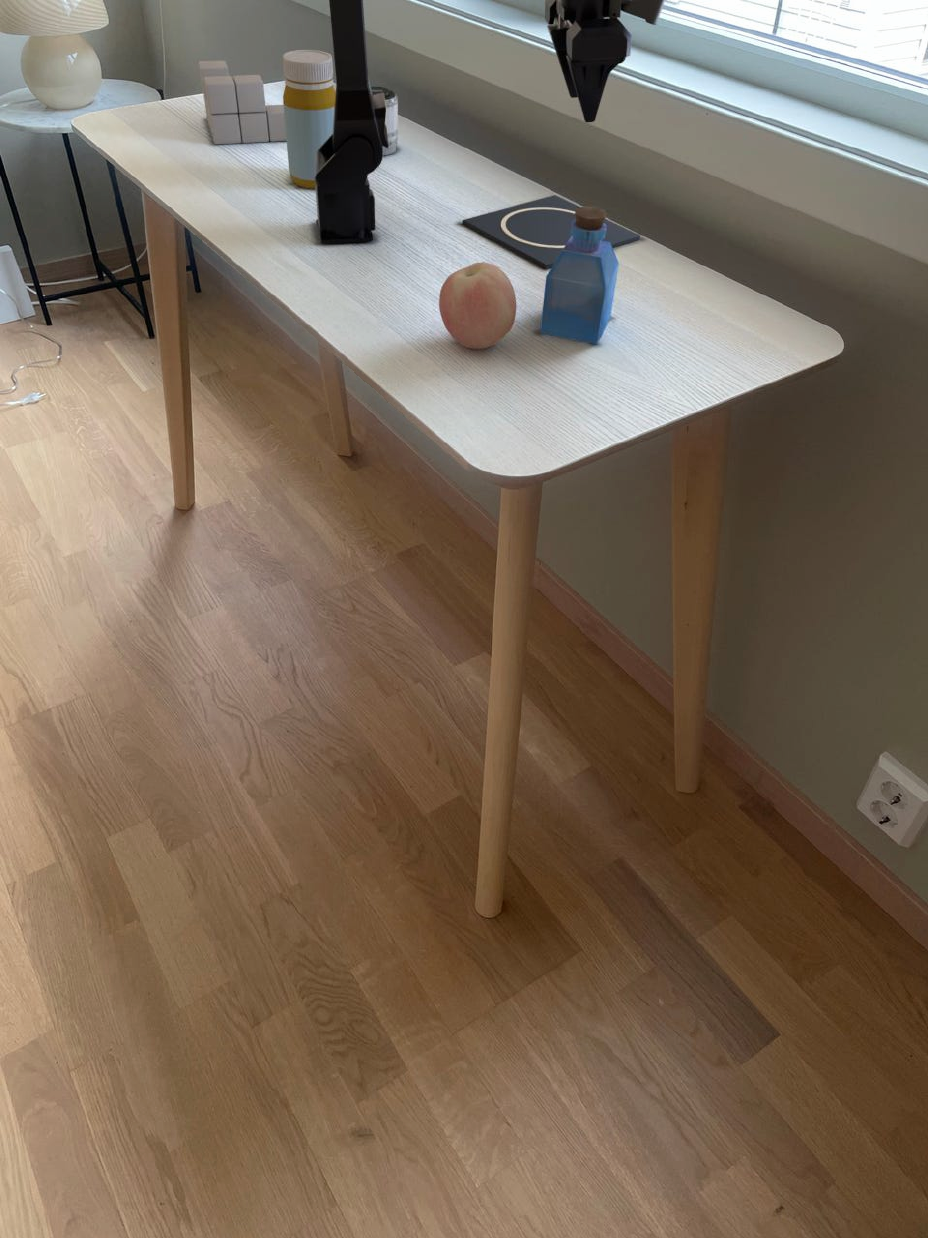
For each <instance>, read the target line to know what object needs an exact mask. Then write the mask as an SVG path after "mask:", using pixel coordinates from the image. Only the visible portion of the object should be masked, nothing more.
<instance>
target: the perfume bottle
mask: <svg viewBox="0 0 928 1238" xmlns="http://www.w3.org/2000/svg"><path fill="white" fill-rule="evenodd" d="M607 215H608V212H607V211H606V210H605V209H603V208H600V207H597V206H588V205H587V206H579V208H577V209H576V210H575V218H576V220H574V221H573V222H572V228H571V235H572V236H571V238H570V239H569V241H568V242H567V244H566V245H565V247H564V248H563V250H562V251H561V253H560V255H559V256H558V258H557V260H556V261H555V263H554V265H553V266H552V267H550V270H549V271H548V273H547V275H546V276H545V284H544V295H543V304H542V312H541V322H540V331H539V333H540V334H542V335H547V336H553V337H558V338H561V339H562V338H563V339H566V340H567V339H568V340H572V341H576V342H582V343H587V344H592V345H598V344H599V341H600V340H601V338H602V336H603V334H604V331H605V330H606V328H607V326H608V324H609V322H610V320H611V315H612V309H613V302H614V297H615V291H616V283H617V278H618V272H619V266H620V263H619V260H618V258H617V255H616V254H615V250H614V247H613V248H612V246H611V243H610V242H607V241H601V240H602V239H604V238H605V233H606V224H605V223H604V221H605V219H607Z"/></svg>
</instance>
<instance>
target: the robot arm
mask: <svg viewBox="0 0 928 1238" xmlns="http://www.w3.org/2000/svg"><path fill="white" fill-rule="evenodd" d="M665 3H666V0H545V1H544V21H546V23H547V26H546V27H547V31H548V33H549V36H550V39H551V43H552V45H553V48H554V51H555V54H556V58H557V60H558V63H559V66H560V69H561V73H562V75H563V78H564V82H565V85H566V88H567V90H568V94H569V96H570V98H572V99H575V98H577V100H578V103H579V106H580V109H581V113H582V117H583V120H584V122H585V123H594V122H595V121H596V118H597V115H598V112H599V109H600V105H601V102H602V98H603V95H604V91H605V88H606V85H607V82H608V79H609V75H610V73H611V72H612V71H613V70H614V69H616V68H617V66H618V65H619V64H623V63H624V62H625V60H626V59H627V57H630V56H631V53H632V52H631V51H632V39H633V38H632V36H633V35H632V34H631V32H630V31H629V30H628V29H627V28H626V26H625V25H624V24H623V23H622V22H621V20H620V19H619V18H621V13H622V12H623V13H626V14H628V15H632V16H635V17H636V18H639V19H643V20H645V23H647V24H650V25H653V26H656V25H657V24H658V21H659V18H660V16H661V13H662V10H663V9H664V5H665ZM328 4H329V5H328V6H329V14H330V25H331V27H330V28H331V37H332V49H333V59H334V69H335V70H334V71H335V81H336V82H335V92H336V93H335V106H334V121H333V134H332V135H331V136H330V137H329V138H328V139H327V140H326V141H325V143H324V144H323V145H322V146H321V147H320V148H319V149H318V150H317V163H316V177H315V188H316V189H315V201H316V202H315V203H316V213H317V214H316V215H317V219H315V224H316V228H317V229H316V230H317V234H318V238H319V243H322V244H337V243H338V244H340V243H361V242H362V243H363V242H364V243H365V242H373V241H374V239H375V238H374V234H373V232H375V230H376V227H377V226H376V198H375V194H374V192H373V190H372V188H371V187H370V186H371V184H370V180H369V177H368V176H369V175H370V174H372V173H373V172H375V171H376V170H377V169H378V167H379V166H380V165H381V163H382V162H383V156H384V155H383V146H384V147H385V148H388V147H389V145H388V136H387V127H386V125H385V118H386V104H385V96H384V93H379V94H375V95H373V93H372V89H371V87H372V86H371V85H372V84H371V82H370V77H369V67H368V55H367V40H366V39H367V38H366V26H365V10H364V9H365V8H364V0H328Z"/></svg>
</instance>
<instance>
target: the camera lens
mask: <svg viewBox="0 0 928 1238" xmlns="http://www.w3.org/2000/svg"><path fill="white" fill-rule="evenodd" d="M371 89H372V93H373V95H375V94H379V93H384V96H385V104H386V118H385V125H386V127H387V136H388V145H389V147H388V148H385V147H384V146H383V155H382V156H388V155H391V154H394V153H395V152H396V151H397V145H398V138H399V98H398V95H397V94H396V93H395V92H394V91H393V90H391V89H389V88H387V87H383V86H371Z"/></svg>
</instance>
